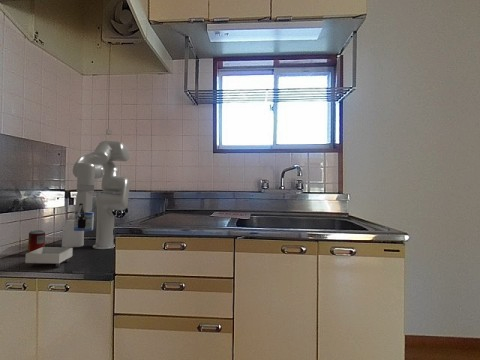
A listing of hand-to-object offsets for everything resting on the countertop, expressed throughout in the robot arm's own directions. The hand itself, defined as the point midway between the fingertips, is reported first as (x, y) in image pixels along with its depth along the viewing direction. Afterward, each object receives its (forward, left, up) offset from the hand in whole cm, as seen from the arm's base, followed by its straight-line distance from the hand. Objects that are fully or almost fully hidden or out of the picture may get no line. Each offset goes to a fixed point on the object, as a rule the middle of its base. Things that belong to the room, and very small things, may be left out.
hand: (83, 226), depth 151 cm
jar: (-39, -20, -18) cm, 47 cm away
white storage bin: (+4, -13, -17) cm, 22 cm away
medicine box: (0, 0, -2) cm, 2 cm away
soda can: (-14, -28, -18) cm, 36 cm away
